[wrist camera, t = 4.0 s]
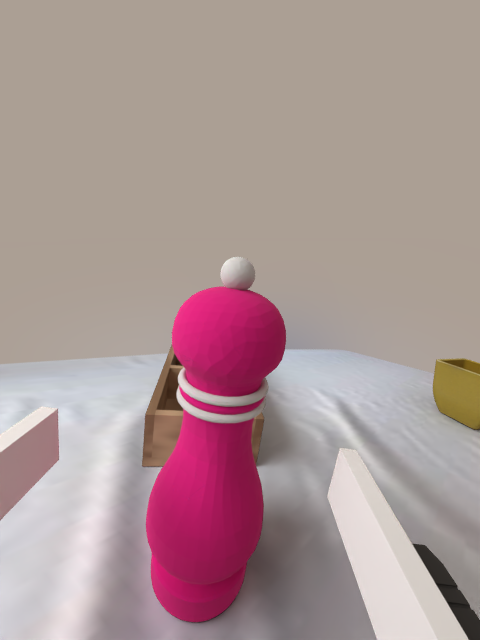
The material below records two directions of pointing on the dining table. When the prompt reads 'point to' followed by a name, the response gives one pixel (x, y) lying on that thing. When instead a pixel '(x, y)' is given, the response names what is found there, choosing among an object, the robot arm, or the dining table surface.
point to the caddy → (173, 417)
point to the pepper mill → (214, 447)
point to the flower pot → (458, 390)
